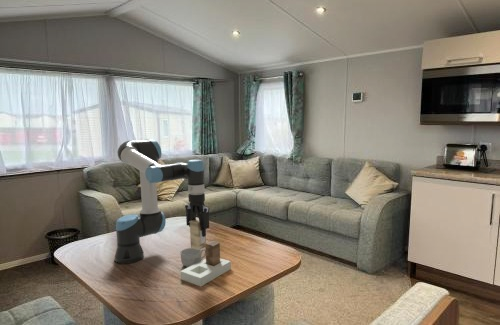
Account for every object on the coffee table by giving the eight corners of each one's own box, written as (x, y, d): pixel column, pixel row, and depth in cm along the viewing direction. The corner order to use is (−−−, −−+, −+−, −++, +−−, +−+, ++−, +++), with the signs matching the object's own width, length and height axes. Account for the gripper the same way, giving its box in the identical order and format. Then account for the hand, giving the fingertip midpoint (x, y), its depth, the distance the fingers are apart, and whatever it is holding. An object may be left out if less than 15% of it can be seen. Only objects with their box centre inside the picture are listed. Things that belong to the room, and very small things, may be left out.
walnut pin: (206, 268, 168) (205, 243, 166) (212, 265, 172) (212, 240, 170) (213, 271, 165) (213, 245, 164) (220, 267, 169) (219, 242, 168)
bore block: (180, 279, 159) (180, 271, 159) (211, 263, 177) (211, 255, 177) (200, 286, 152) (200, 278, 151) (231, 268, 170) (230, 261, 169)
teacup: (181, 271, 168) (181, 255, 167) (180, 262, 179) (179, 248, 178) (209, 267, 172) (208, 252, 171) (206, 259, 182) (205, 245, 181)
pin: (198, 244, 162) (197, 218, 161) (205, 246, 159) (205, 220, 158) (190, 247, 158) (189, 221, 156) (198, 250, 155) (197, 222, 154)
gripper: (176, 192, 158) (179, 240, 160) (205, 196, 147) (207, 247, 150) (188, 189, 164) (190, 236, 167) (216, 193, 154) (218, 242, 156)
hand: (198, 241), depth 158 cm, fingers closed on pin, 5 cm apart
